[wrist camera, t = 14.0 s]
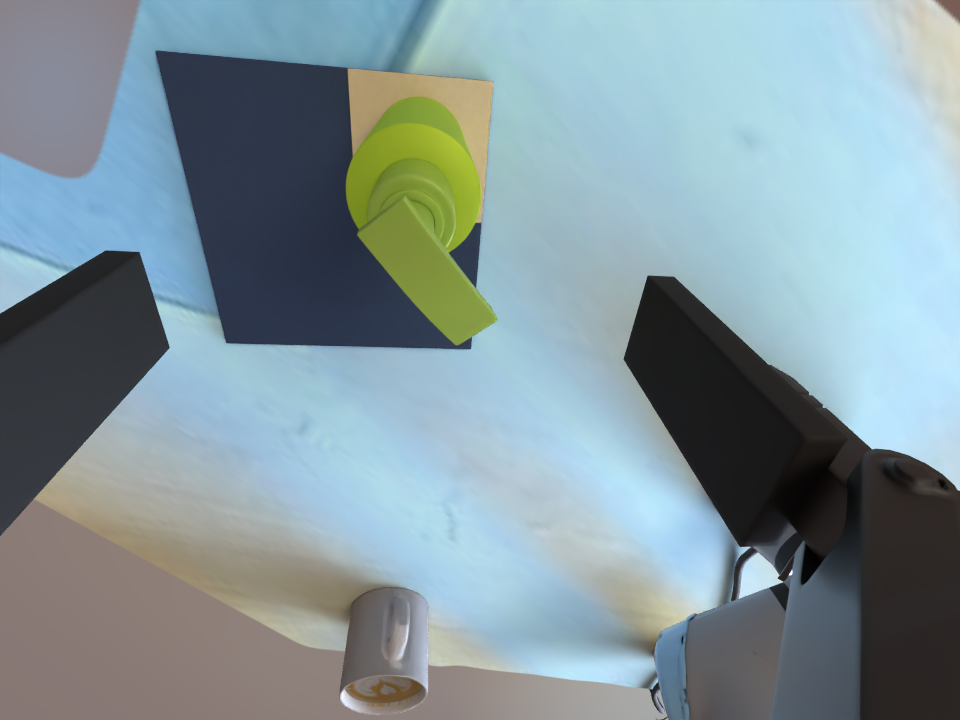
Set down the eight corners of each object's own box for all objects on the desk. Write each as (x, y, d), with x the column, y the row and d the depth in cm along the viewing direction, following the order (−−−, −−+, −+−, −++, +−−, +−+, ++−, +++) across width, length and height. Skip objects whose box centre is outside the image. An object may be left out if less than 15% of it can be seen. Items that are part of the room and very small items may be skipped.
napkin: (470, 347, 41) (471, 350, 41) (227, 341, 39) (225, 343, 38) (492, 81, 30) (493, 81, 30) (157, 50, 28) (154, 50, 28)
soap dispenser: (422, 220, 34) (413, 381, 18) (356, 134, 31) (269, 233, 14) (489, 171, 33) (549, 295, 16) (428, 75, 29) (424, 108, 13)
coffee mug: (409, 634, 66) (406, 719, 58) (340, 621, 63) (326, 709, 54) (453, 582, 60) (457, 668, 52) (380, 564, 57) (371, 653, 48)
